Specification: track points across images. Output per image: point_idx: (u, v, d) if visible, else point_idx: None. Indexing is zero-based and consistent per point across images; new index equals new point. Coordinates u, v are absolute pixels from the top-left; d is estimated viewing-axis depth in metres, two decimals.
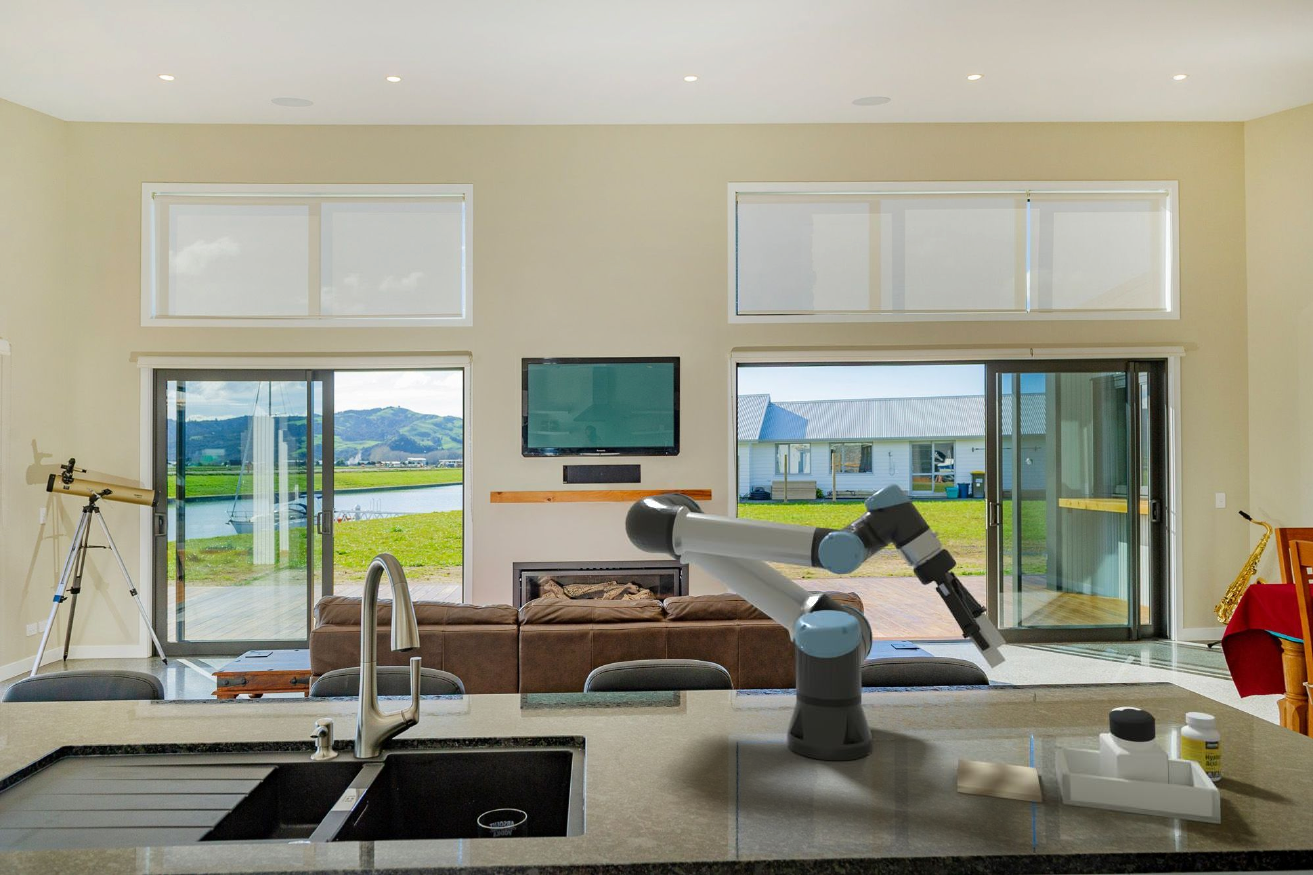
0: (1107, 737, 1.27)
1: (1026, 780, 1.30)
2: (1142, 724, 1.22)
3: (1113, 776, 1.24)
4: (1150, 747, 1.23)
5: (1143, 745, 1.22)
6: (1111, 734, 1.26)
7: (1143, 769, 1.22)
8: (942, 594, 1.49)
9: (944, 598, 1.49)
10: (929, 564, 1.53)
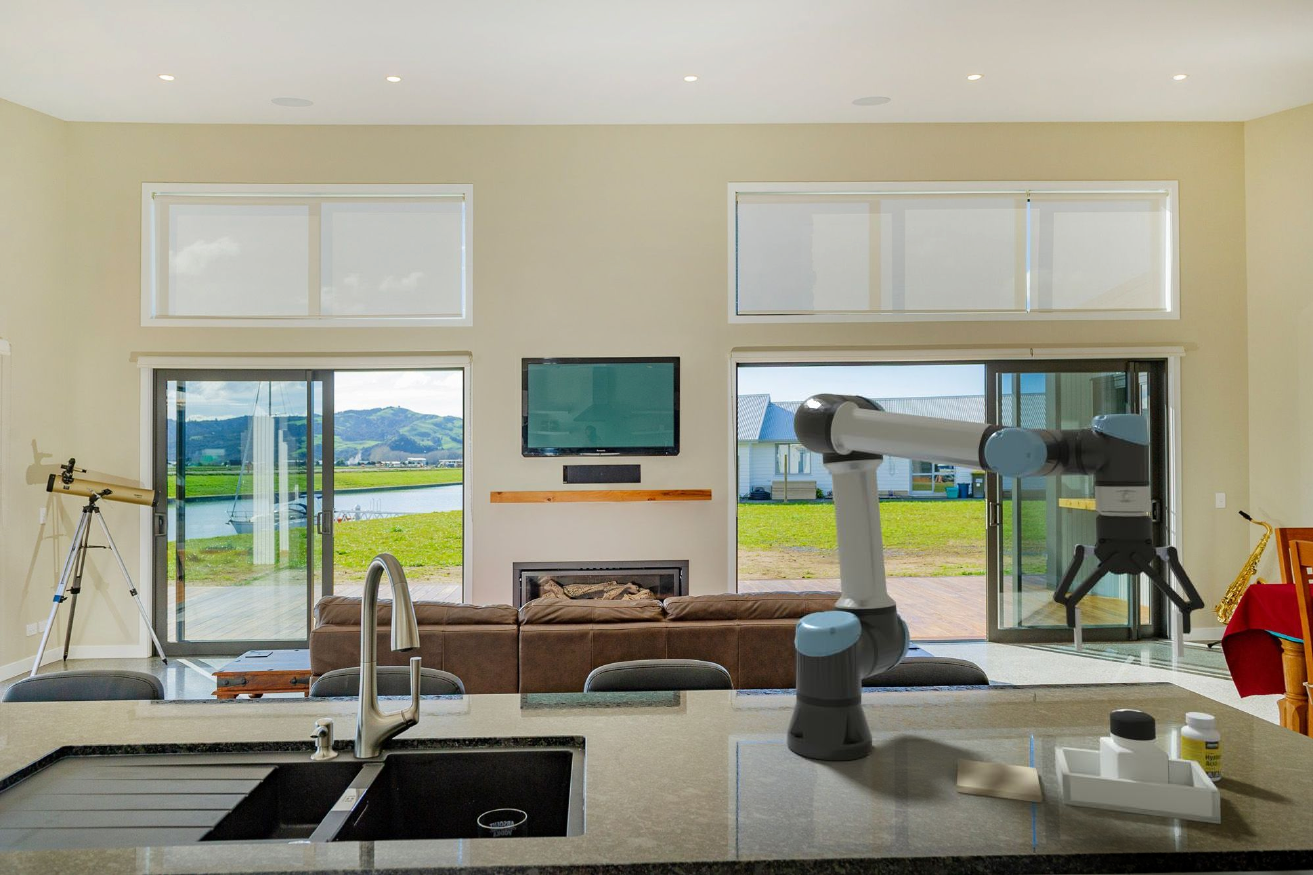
0: (1107, 739, 1.28)
1: (1026, 780, 1.30)
2: (1142, 722, 1.23)
3: (1113, 776, 1.25)
4: (1150, 747, 1.24)
5: (1144, 744, 1.23)
6: (1111, 734, 1.27)
7: (1143, 768, 1.23)
8: (1074, 553, 1.31)
9: (1073, 557, 1.31)
10: (1096, 519, 1.29)
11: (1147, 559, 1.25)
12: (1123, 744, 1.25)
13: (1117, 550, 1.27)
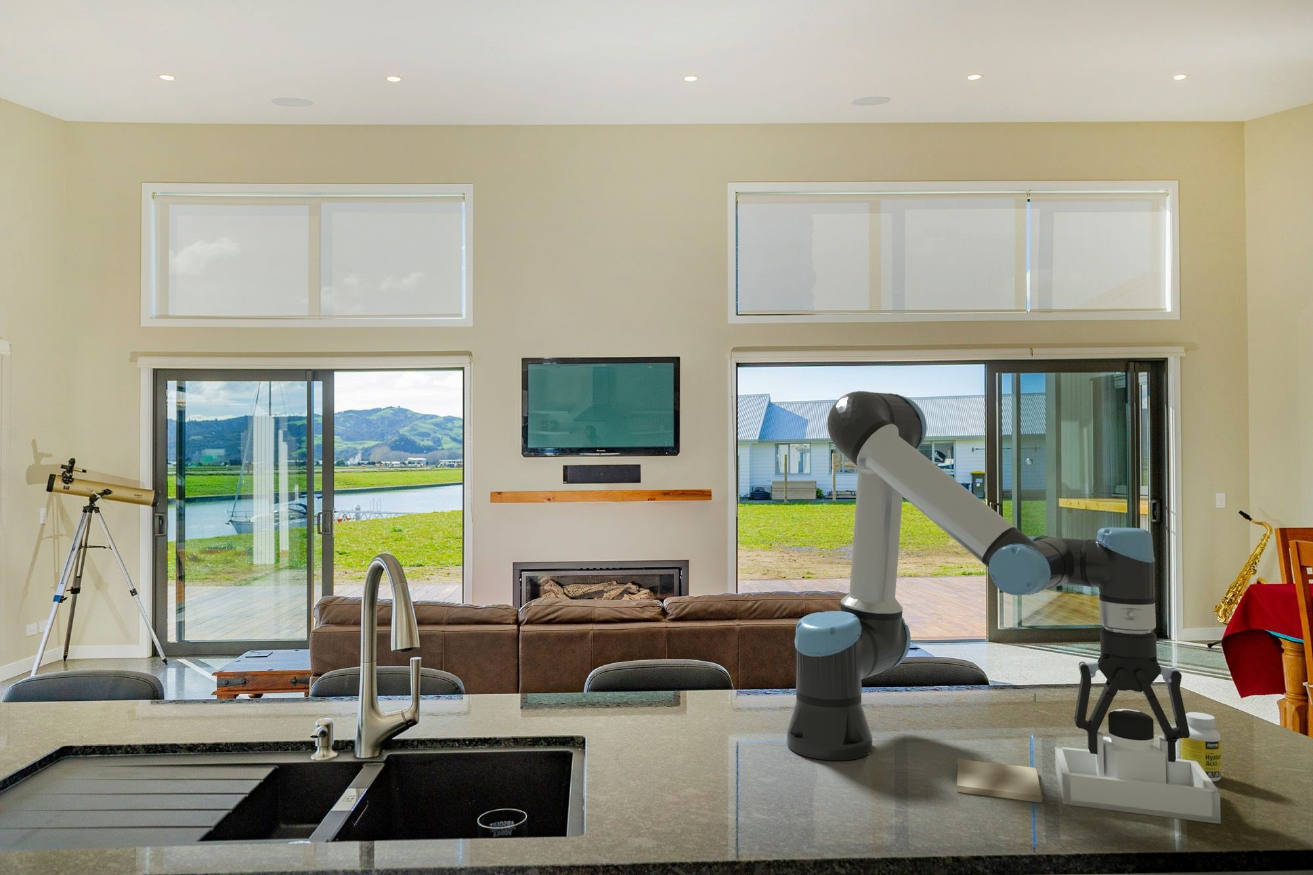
0: (1106, 739, 1.28)
1: (1026, 780, 1.30)
2: (1140, 722, 1.24)
3: (1111, 776, 1.25)
4: (1148, 747, 1.24)
5: (1142, 744, 1.23)
6: (1109, 734, 1.27)
7: (1141, 768, 1.23)
8: (1080, 672, 1.30)
9: (1081, 677, 1.30)
10: (1100, 633, 1.28)
11: (1151, 676, 1.25)
12: (1121, 744, 1.25)
13: (1121, 666, 1.26)
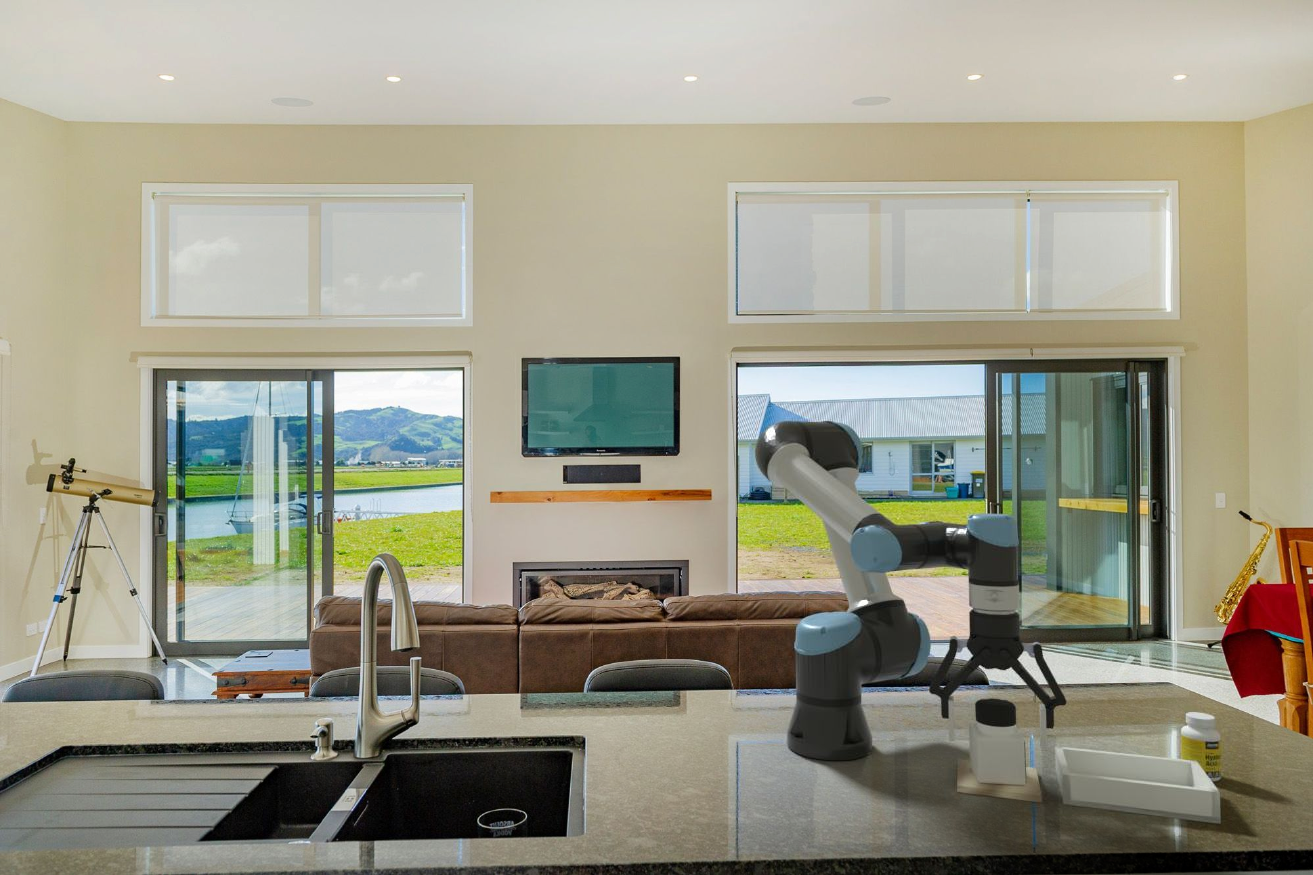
0: (974, 726, 1.34)
1: (1026, 780, 1.30)
2: (1001, 709, 1.29)
3: (975, 761, 1.31)
4: (1010, 734, 1.30)
5: (1002, 730, 1.29)
6: (976, 721, 1.33)
7: (1001, 753, 1.29)
8: None
9: (948, 650, 1.36)
10: (969, 614, 1.34)
11: (1014, 655, 1.31)
12: (984, 730, 1.31)
13: (987, 645, 1.32)
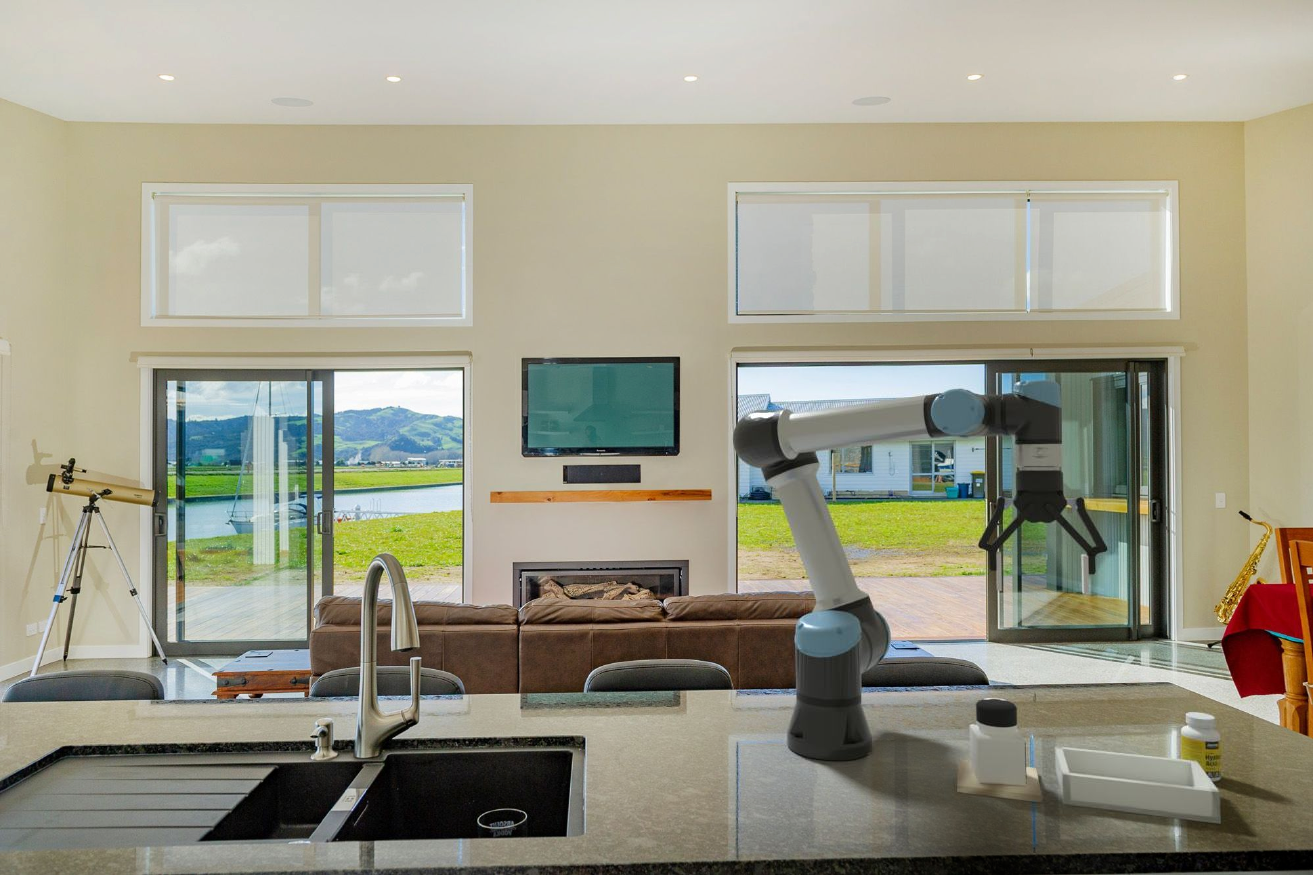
0: (974, 726, 1.34)
1: (1026, 780, 1.30)
2: (1002, 710, 1.29)
3: (976, 761, 1.31)
4: (1010, 734, 1.30)
5: (1003, 731, 1.29)
6: (976, 722, 1.33)
7: (1002, 754, 1.29)
8: None
9: None
10: None
11: (1058, 509, 1.41)
12: (985, 731, 1.31)
13: (1033, 501, 1.43)
